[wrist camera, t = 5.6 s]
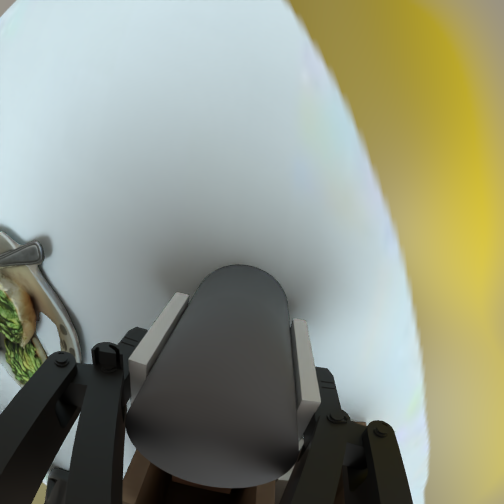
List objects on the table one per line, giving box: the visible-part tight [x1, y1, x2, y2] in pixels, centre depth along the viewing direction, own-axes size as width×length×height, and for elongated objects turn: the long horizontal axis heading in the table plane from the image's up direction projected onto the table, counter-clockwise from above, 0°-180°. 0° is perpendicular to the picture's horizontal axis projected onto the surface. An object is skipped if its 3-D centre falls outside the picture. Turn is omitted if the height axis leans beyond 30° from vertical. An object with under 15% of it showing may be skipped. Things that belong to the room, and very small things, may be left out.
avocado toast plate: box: [0, 231, 82, 387], centre depth 19 cm, size 19×18×5 cm
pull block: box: [125, 265, 299, 494], centre depth 15 cm, size 6×19×11 cm, turn 168°
